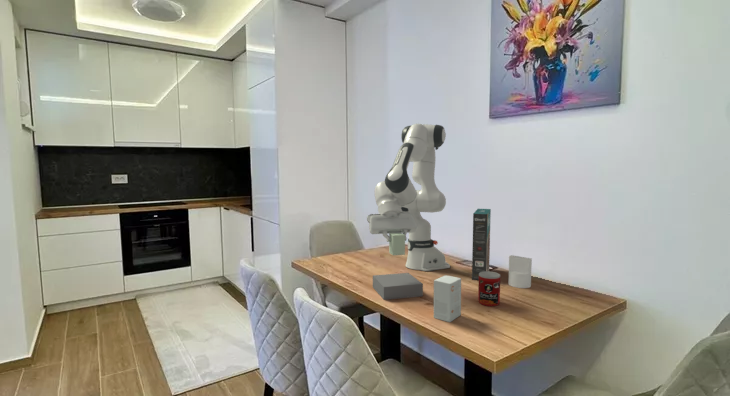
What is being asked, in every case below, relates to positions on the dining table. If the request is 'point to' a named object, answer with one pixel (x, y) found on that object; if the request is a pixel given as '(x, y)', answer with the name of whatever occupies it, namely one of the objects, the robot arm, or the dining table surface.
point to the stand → (397, 286)
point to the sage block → (397, 244)
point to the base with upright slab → (520, 271)
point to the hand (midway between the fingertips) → (397, 240)
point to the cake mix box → (481, 242)
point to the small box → (447, 298)
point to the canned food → (489, 288)
